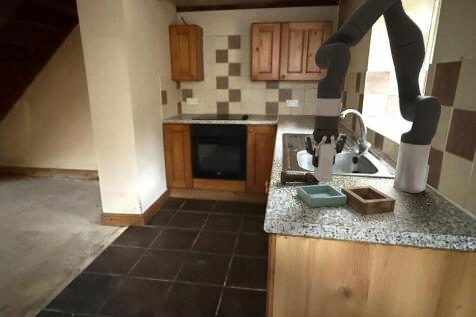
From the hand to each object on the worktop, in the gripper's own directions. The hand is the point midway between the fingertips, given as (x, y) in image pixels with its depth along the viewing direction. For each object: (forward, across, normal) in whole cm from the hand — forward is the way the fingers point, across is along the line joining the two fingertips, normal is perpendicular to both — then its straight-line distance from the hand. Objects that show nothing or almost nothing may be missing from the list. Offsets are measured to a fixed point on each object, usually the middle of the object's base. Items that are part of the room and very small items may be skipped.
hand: (322, 166), depth 90 cm
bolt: (+12, 0, -16) cm, 20 cm away
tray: (+12, 0, 0) cm, 12 cm away
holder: (+12, -12, +7) cm, 18 cm away
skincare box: (+5, 0, 0) cm, 5 cm away
